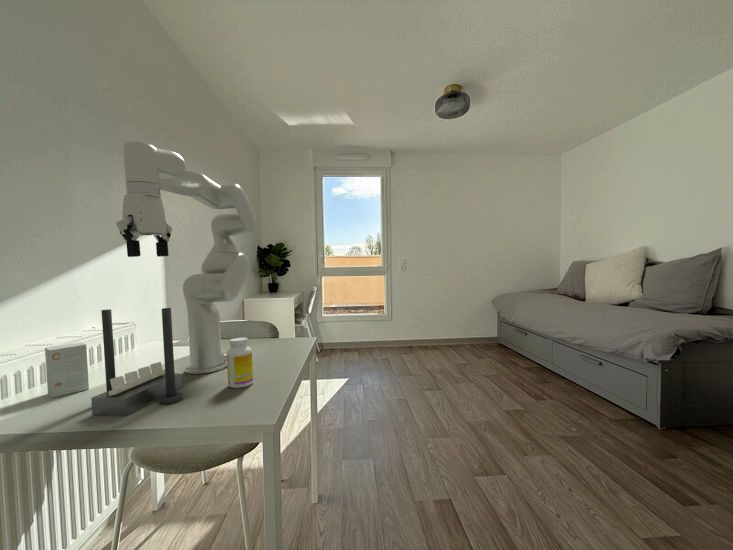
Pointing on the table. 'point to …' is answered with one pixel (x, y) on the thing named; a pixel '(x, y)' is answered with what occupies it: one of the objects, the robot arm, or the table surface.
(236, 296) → the robot arm
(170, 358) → the cable upright
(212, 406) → the table surface
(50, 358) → the small box
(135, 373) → the breaker paddles
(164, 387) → the breaker panel
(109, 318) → the cable upright
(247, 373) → the supplement bottle
